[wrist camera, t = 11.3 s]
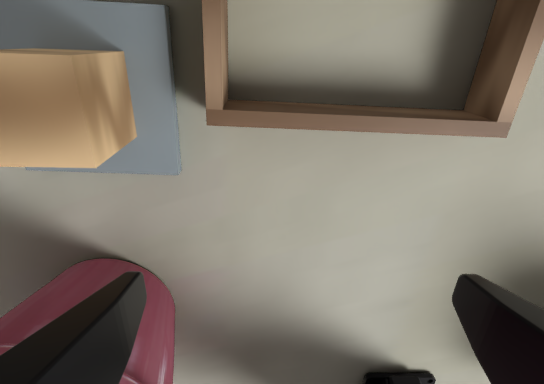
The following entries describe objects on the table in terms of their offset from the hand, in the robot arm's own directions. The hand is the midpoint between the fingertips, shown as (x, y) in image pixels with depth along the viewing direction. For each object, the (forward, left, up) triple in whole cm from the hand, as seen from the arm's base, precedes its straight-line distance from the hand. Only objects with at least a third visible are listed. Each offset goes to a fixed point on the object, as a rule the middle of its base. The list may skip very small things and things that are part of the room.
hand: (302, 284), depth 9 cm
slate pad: (+3, +11, -12) cm, 16 cm away
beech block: (+3, +11, -11) cm, 16 cm away
